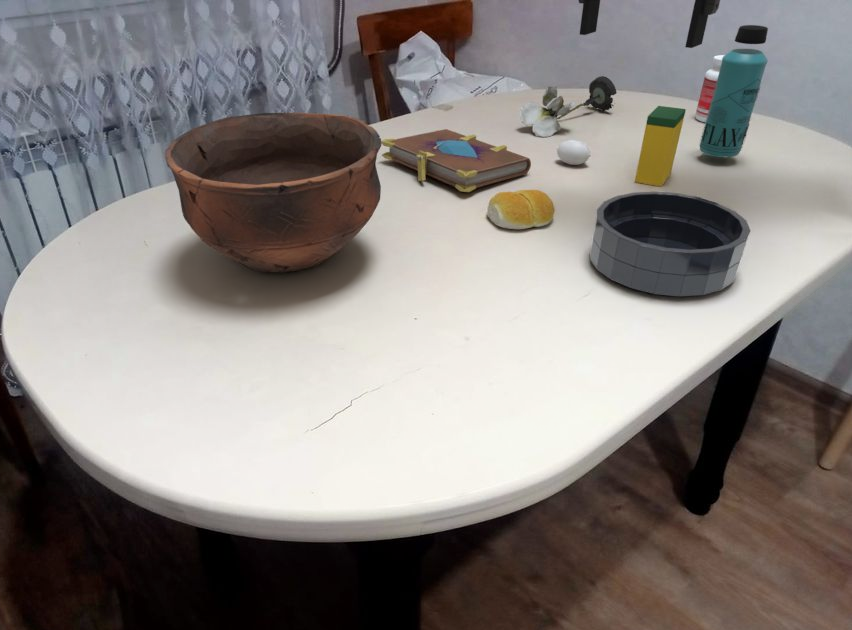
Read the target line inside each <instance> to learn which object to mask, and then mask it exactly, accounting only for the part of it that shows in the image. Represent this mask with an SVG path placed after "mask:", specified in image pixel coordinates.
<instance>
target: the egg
mask: <svg viewBox="0 0 852 630" xmlns="http://www.w3.org/2000/svg"><path fill="white" fill-rule="evenodd" d="M556 154H557V157H558V158H559V160H560V161H562V162H563V163H565V164H567V165H572V166H579V165H582V164H584V163H586V162H587V161H588V160H589V159H590V157H591V150H590V148H589V146H588V145H587V144H586V143H584V142H583V141H580V140H577V139H569V140H565V141H563V142H561V143H560V144H559V145H558V147H557V148H556Z"/></svg>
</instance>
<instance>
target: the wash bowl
mask: <svg viewBox="0 0 852 630" xmlns="http://www.w3.org/2000/svg"><path fill="white" fill-rule="evenodd" d="M592 229H593V231H592V236H591V242H590V247H589V261H590V262H591V263H592V265H593V266H594V268H595V269H596V270H597V271H598V272H600V273H601V274H602V275H604V276H605V277H607V278H608V279H609V280H611V281H612V282H615V283H618V284H620V285H622V286H624V287H627V288H629V289H633V290H637V291H641V292H645V293H648V294H652V295H659V296H668V297H669V296H670V297H694V296H696V297H697V296H704V295H709V294H711V293H716V292H720V291H722V290H724V289H725V288H727V287H728V286H730V285H732V284H733V283H734V281H735V279H736V276H737V274H738V272H739V268H740V265H741V262H742V259H743V257H744V252H745V249H746V247H747V243H748V240H749V237H750V234H751V228H750V226H749V223H748V221H747V219H745V218H744V217H743V216H741V215H740V214H739V213H738V212H737V211H735V210H733V209H731V208H730V207H727V206H725V205H723V204H721V203H719V202H716V201H713V200H709V199H706V198H703V197H700V196H696V195H688V194H684V193H679V192H668V191H666V192H665V191H637V192H629V193H625V194H619V195H615V196H613V197H611V198H608V199H607V200H605V201H603V202H602V203H601V204H600V205H599V207H598V208H597V209H596V211H595V218H594V224H593V228H592Z"/></svg>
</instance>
